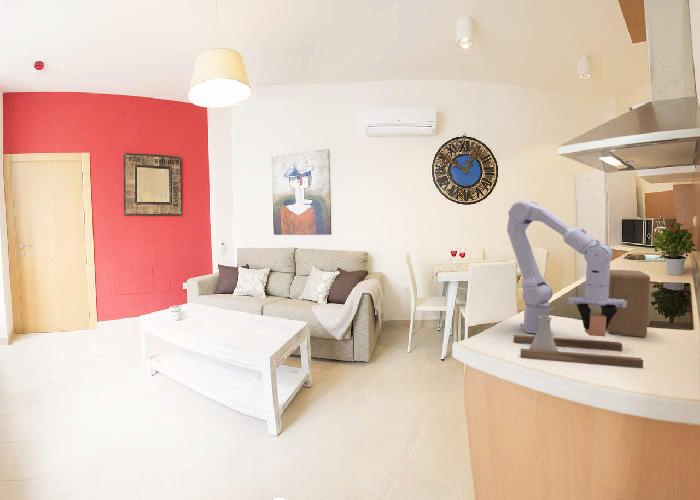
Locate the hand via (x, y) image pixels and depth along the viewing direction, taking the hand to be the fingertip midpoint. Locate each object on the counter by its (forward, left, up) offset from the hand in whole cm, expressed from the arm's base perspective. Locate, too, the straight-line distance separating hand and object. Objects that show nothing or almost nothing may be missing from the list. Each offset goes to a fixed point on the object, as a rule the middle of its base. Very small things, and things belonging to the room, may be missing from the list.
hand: (594, 328), depth 104 cm
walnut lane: (+10, -9, -5) cm, 14 cm away
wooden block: (-14, +13, -5) cm, 20 cm away
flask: (+10, -16, -5) cm, 19 cm away
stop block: (0, 0, -2) cm, 2 cm away
